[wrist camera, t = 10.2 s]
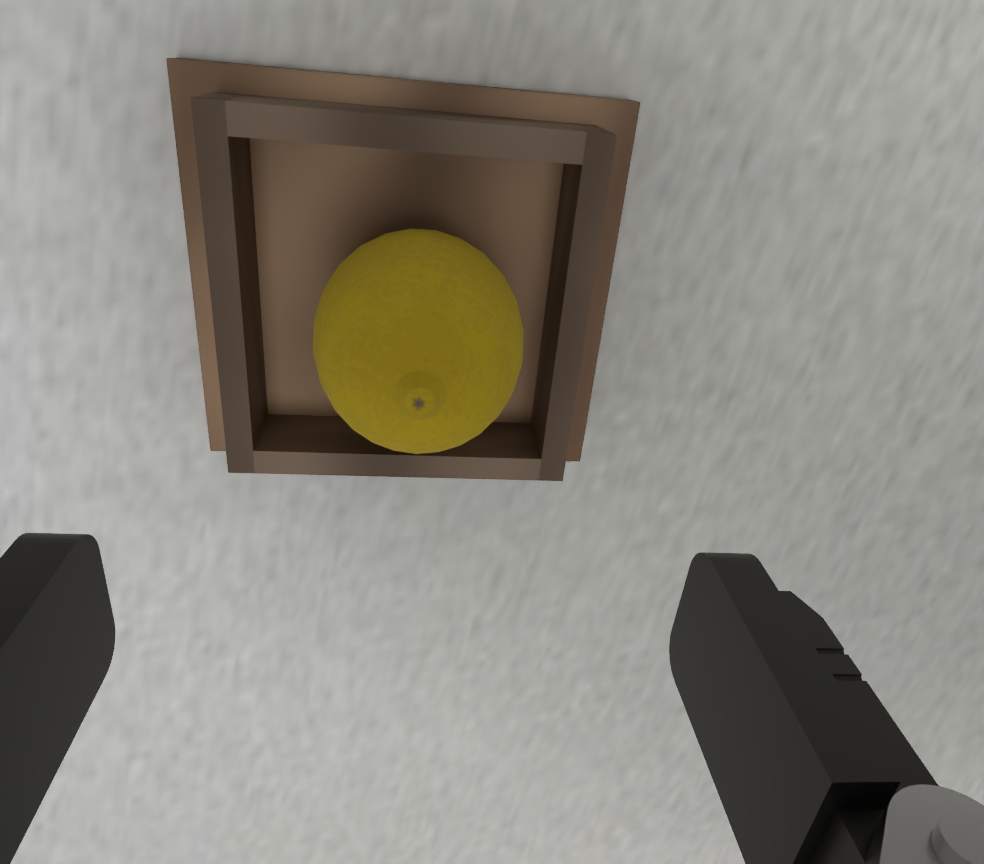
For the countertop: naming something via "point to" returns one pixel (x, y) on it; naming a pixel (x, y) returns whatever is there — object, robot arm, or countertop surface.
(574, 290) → the lemon stand
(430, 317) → the lemon
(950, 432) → the countertop surface
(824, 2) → the countertop surface
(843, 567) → the countertop surface
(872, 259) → the countertop surface
